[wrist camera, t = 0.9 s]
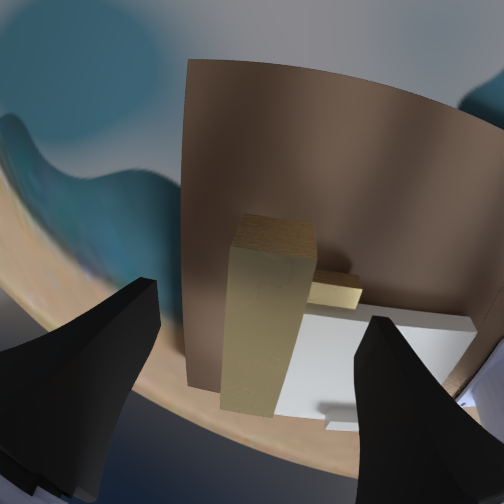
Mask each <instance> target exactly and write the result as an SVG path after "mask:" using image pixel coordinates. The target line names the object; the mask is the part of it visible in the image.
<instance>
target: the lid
mask: <svg viewBox="0 0 504 504" xmlns="http://www.w3.org/2000/svg"><path fill="white" fill-rule="evenodd" d="M372 315H375V316H384V317H389V318H390V319H391V320H392V322H393V323H394V324H395V325H396V327H397V328H398V329H399V331H400V332H401V333H402V335H403V336H404V338H405V339H406V340H407V342H408V343H409V344H410V346H411V347H412V348H413V350H414V351H415V353H416V354H417V355H418V357H419V358H420V359H421V361H422V362H423V363H424V365H425V366H426V367H427V368H428V370H429V371H430V372H431V373H432V375H433V376H434V377H435V378H436V380H437V381H438V382H439V383H440V384H442V383H443V382H444V381H445V379H446V378H447V377H448V375H449V374H450V373H451V371H452V370H453V369H454V367H455V366H456V364H457V363H458V362H459V360H460V359H461V357H462V356H463V354H464V353H465V351H466V350H467V348H468V347H469V345H470V344H471V342H472V341H473V339H474V338H475V336H476V335H477V333H478V332H477V330H476V328H475V326H474V324H473V322H472V320H471V319H470V317H467V316H457V315H448V314H438V313H430V312H421V311H413V310H404V309H396V308H388V307H381V306H373V305H366V304H357V306H356V309H349V308H341V307H334V306H327V305H320V304H314V303H307V304H306V308H305V311H304V315H303V319H302V322H301V326H300V329H299V333H298V337H297V340H296V344H295V347H294V350H293V354H292V357H291V361H290V364H289V367H288V371H287V374H286V377H285V380H284V384H283V387H282V390H281V393H280V396H279V399H278V402H277V405H276V409H275V412H274V414H278V415H285V416H294V417H303V418H313V419H325V430H341V431H359V426H358V417H357V408H356V399H355V391H354V355H355V353H356V351H357V349H358V346H359V344H360V342H361V340H362V338H363V336H364V333H365V331H366V329H367V327H368V324H369V322H370V320H371V317H372Z"/></svg>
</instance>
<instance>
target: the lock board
mask: <svg viewBox="0 0 504 504" xmlns="http://www.w3.org/2000/svg"><path fill="white" fill-rule="evenodd" d="M244 213H248V214H255V215H261V216H268V217H274V218H281V219H287V220H293V221H299V222H305V223H311V224H314V225H315V236H316V247H317V259H318V260H317V264H316V269H322V270H329V271H335V272H341V273H348V274H354V275H359V277H360V281H361V285H362V289H363V290H362V293H361V296H360V298H359V301H358V304H366V305H373V306H381V307H388V308H396V309H404V310H413V311H421V312H430V313H438V314H448V315H457V316H467V317H470V319H471V320H472V322H473V324H474V326H475V328H476V330H478V329H479V327H480V325H481V324H482V322H483V320H484V318H485V317H486V315H487V313H488V312H489V310H490V308H491V306H492V304H493V303H494V301H495V299H496V297H497V295H498V293H499V291H500V289H501V287H502V285H503V283H504V130H502V129H500V128H498V127H496V126H494V125H492V124H490V123H488V122H486V121H484V120H481V119H479V118H477V117H475V116H472V115H470V114H468V113H465V112H463V111H460V110H458V109H455V108H453V107H450V106H448V105H445V104H442V103H440V102H437V101H434V100H431V99H428V98H425V97H423V96H420V95H417V94H414V93H411V92H407V91H404V90H401V89H397V88H394V87H391V86H387V85H383V84H380V83H376V82H372V81H368V80H364V79H360V78H355V77H351V76H346V75H341V74H336V73H331V72H326V71H321V70H314V69H308V68H302V67H295V66H288V65H280V64H271V63H260V62H249V61H234V60H204V59H201V60H200V59H189V60H188V67H187V78H186V90H185V105H184V120H183V139H182V165H181V283H182V308H183V328H184V344H185V358H186V371H187V382H188V386H190V387H194V388H199V389H203V390H208V391H212V392H217V393H221V376H222V358H223V341H224V325H225V310H226V295H227V280H228V267H229V253H230V245H231V243H232V240H233V238H234V236H235V233H236V231H237V229H238V227H239V224H240V222H241V220H242V217H243V215H244Z"/></svg>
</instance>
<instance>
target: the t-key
mask: <svg viewBox="0 0 504 504" xmlns="http://www.w3.org/2000/svg"><path fill="white" fill-rule="evenodd" d="M317 260H318V259H317V247H316V236H315V225H314V224H311V223H305V222H299V221H293V220H287V219H281V218H274V217H268V216H261V215H255V214H248V213H244V215H243V217H242V220H241V222H240V224H239V227H238V229H237V231H236V233H235V236H234V238H233V240H232V243H231V245H230V253H229V267H228V280H227V295H226V310H225V325H224V341H223V358H222V376H221V395H220V409H222V410H227V411H233V412H238V413H244V414H250V415H256V416H262V417H269V418H273V415H274V412H275V409H276V405H277V402H278V399H279V396H280V393H281V390H282V387H283V384H284V380H285V377H286V374H287V371H288V367H289V364H290V361H291V357H292V354H293V350H294V347H295V344H296V340H297V337H298V333H299V329H300V326H301V322H302V319H303V315H304V311H305V308H306V304H307V303H314V304H320V305H327V306H334V307H341V308H349V309H356V306H357V304H358V301H359V298H360V296H361V293H362V290H363V289H362V285H361V281H360V277H359V275H354V274H348V273H341V272H335V271H329V270H322V269H316V264H317Z"/></svg>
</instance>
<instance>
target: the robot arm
mask: <svg viewBox="0 0 504 504" xmlns="http://www.w3.org/2000/svg"><path fill="white" fill-rule="evenodd" d="M160 327H161V320H160V311H159V301H158V291H157V280H152V279H147V278H143V277H140V278H138V279H136V280H135V281H133V282H131V283H130V284H128V285H127V286H125V287H124V288H122V289H121V290H119V291H118V292H116V293H115V294H113V295H112V296H110V297H109V298H107V299H106V300H104V301H103V302H101V303H100V304H98V305H97V306H95V307H93V308H92V309H90V310H89V311H87V312H85V313H84V314H82V315H80V316H79V317H77V318H75V319H74V320H72V321H70V322H68V323H67V324H65V325H63V326H61V327H59V328H57V329H55V330H53V331H51V332H49V333H47V334H45V335H43V336H41V337H39V338H36V339H34V340H31V341H29V342H26V343H24V344H21V345H19V346H16V347H13V348H10V349H7V350H4V351H1V352H0V504H68V503H67V502H65V501H63V500H61V499H60V497H61V495H64V496H66V497H68V498H70V499H71V498H72V497H73V496H75V497H77V498H79V499H81V500H83V501H85V502H87V503H91V502H94V501H96V500H97V499H98V493H99V487H100V482H101V477H102V472H103V468H104V464H105V460H106V456H107V453H108V449H109V445H110V443H111V439H112V436H113V433H114V429H115V427H116V424H117V421H118V418H119V415H120V413H121V410H122V407H123V405H124V403H125V401H126V398H127V396H128V394H129V393H130V391H131V389H132V387H133V385H134V383H135V381H136V379H137V377H138V375H139V373H140V372H141V370H142V368H143V366H144V364H145V362H146V360H147V358H148V356H149V354H150V352H151V350H152V348H153V346H154V343H155V340H156V338H157V335H158V332H159V330H160ZM354 391H355V399H356V408H357V417H358V426H359V436H360V462H359V477H358V488H357V496H356V503H355V504H504V338H503V339H502V340H501V341H500V342H499V344H498V345H497V347H496V348H495V350H494V351H493V353H492V354H491V355H490V357H489V358H488V360H487V361H486V362H485V364H484V365H483V366H482V368H481V369H480V370H479V372H478V373H477V374H476V375H475V377H474V378H473V379H472V381H471V382H470V383H469V384H468V385H467V387H466V388H465V389H464V390H463V392H462V393H461V394H460V395H459V396H458V397H457V399H456V400H454V399H453V398H452V397H451V396H450V395H449V394H448V393H447V391H446V390H445V389H444V388H443V387H442V386H441V384H440V383H439V382H438V381H437V380H436V378H435V377H434V376H433V375H432V373H431V372H430V371H429V370H428V368H427V367H426V366H425V365H424V363H423V362H422V361H421V359H420V358H419V357H418V355H417V354H416V353H415V351H414V350H413V348H412V347H411V346H410V344H409V343H408V342H407V340H406V339H405V338H404V336H403V335H402V333H401V332H400V331H399V329H398V328H397V327H396V325H395V324H394V323H393V322H392V320H391V319H390V318H389V317H384V316H375V315H372V317H371V320H370V322H369V324H368V327H367V329H366V331H365V333H364V336H363V338H362V340H361V342H360V344H359V346H358V349H357V351H356V353H355V355H354ZM470 406H476V408H477V411H478V415H479V418H480V421H481V424H482V426H481V425H480V424H479V423H477V422H476V421H475V420H474V419H473V418H472V417H471V416H470V415H469V414H468V413H467V412H466V411H465V410H463V409H462V408H461V407H470Z"/></svg>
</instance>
